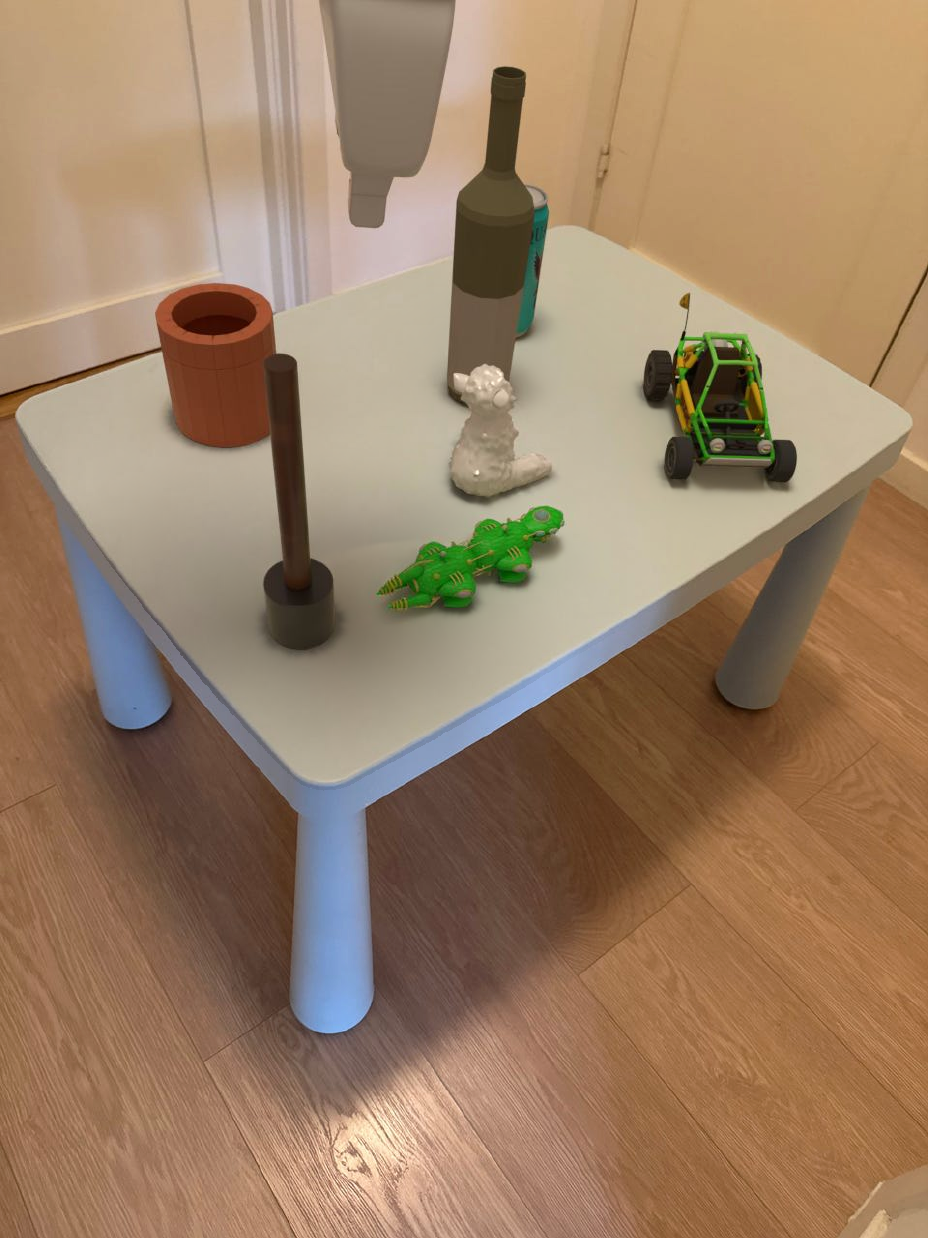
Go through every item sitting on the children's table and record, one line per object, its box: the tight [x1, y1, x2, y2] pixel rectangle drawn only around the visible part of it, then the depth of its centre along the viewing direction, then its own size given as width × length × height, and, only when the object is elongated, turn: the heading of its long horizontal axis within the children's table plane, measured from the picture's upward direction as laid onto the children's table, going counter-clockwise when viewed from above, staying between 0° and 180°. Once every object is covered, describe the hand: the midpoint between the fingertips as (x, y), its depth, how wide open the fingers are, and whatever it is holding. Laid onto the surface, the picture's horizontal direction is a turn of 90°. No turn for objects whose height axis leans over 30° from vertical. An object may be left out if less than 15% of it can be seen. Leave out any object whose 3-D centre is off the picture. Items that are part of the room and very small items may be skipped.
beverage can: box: [516, 183, 550, 339], centre depth 98 cm, size 6×6×15 cm
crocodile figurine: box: [375, 505, 566, 611], centre depth 77 cm, size 7×18×4 cm, turn 124°
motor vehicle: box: [643, 292, 798, 484], centre depth 90 cm, size 12×19×11 cm, turn 3°
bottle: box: [446, 65, 535, 404], centre depth 84 cm, size 7×7×30 cm
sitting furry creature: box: [448, 364, 553, 498], centre depth 82 cm, size 10×9×12 cm
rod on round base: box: [262, 353, 336, 650], centre depth 64 cm, size 5×5×24 cm
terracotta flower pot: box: [154, 282, 277, 448], centre depth 86 cm, size 10×10×11 cm
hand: (357, 175), depth 51 cm, fingers open, 8 cm apart
